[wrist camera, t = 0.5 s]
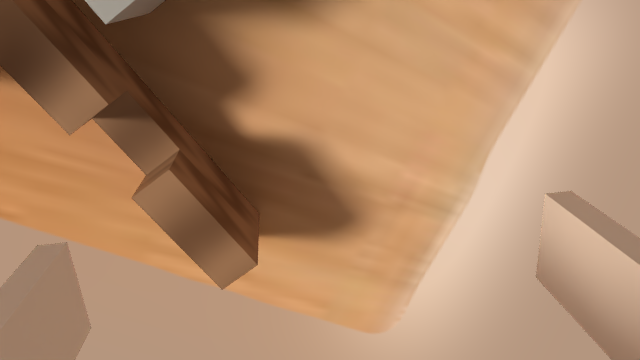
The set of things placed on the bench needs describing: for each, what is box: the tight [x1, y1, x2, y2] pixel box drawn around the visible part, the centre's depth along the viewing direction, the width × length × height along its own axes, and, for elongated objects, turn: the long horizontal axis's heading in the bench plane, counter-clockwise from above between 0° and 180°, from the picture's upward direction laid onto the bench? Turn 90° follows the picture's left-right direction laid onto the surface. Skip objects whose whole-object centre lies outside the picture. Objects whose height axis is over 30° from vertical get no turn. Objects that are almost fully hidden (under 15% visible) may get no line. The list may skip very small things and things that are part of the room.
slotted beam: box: [0, 0, 259, 290], centre depth 34 cm, size 22×3×8 cm, turn 36°
